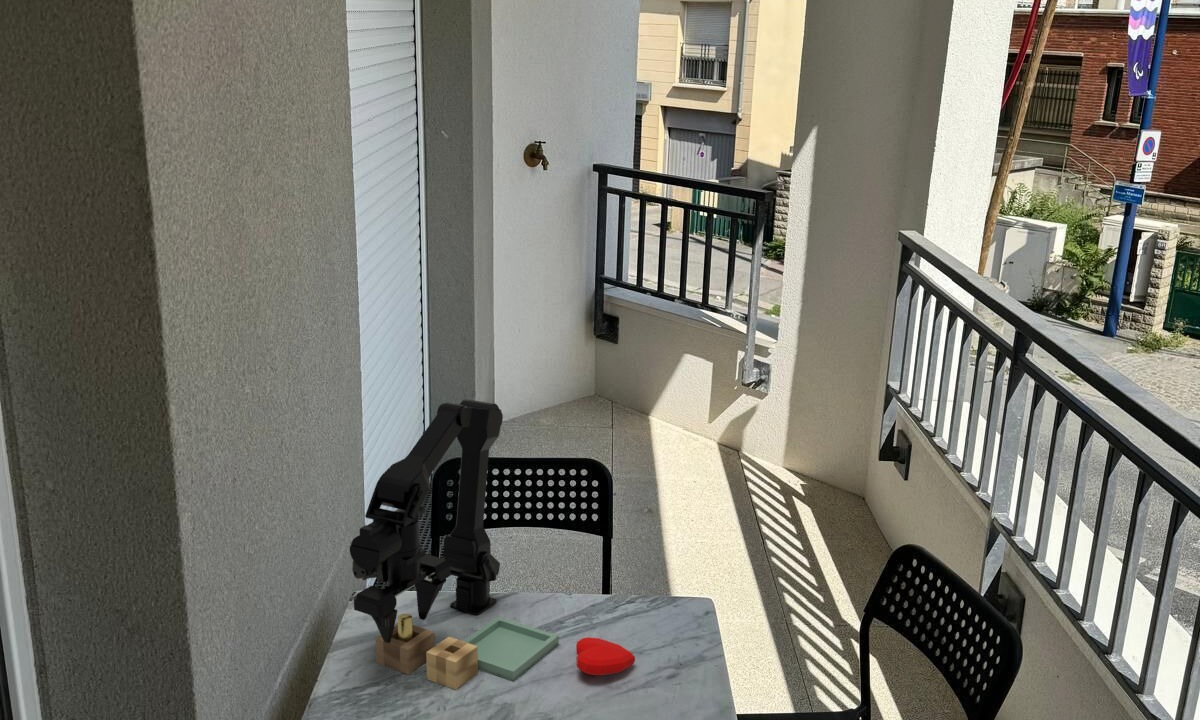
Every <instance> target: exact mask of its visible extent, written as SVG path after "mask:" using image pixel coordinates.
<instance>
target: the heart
mask: <svg viewBox="0 0 1200 720" xmlns="http://www.w3.org/2000/svg"><path fill="white" fill-rule="evenodd" d="M575 647H576V667H577V669H579V671H580V672H583V673H584V674H586V675H592V676H593V675H594V676H604V675H612V674H617V673H618V674H619V673H620V672H622V671H624V670H626V669H628V668H630V667H631V666H632V665H634V664H635V662H636V656H635V655H634V654H633V653H632V652H631V651H629V650H628V649H626V648H625V647H623V646H621V645H620V644H617V643H614V642H612V641H608V640H605V639H603V638H599V637H590V636H589V637H588V636H587V637H582V638H581V639H579V640H577V642H576V646H575Z"/></svg>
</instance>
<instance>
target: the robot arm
mask: <svg viewBox="0 0 1200 720" xmlns="http://www.w3.org/2000/svg"><path fill="white" fill-rule="evenodd" d="M503 417H504V416H503V412H502V409H500V408H499V406H498V404H497V403H492V402H487V401H481V400H473V399H468V398H465V399H463V400H462V401H460V403H452V402H447V401H446V402H444V403H443V402H442V403H441V404H440V405H439V406H438V408H437V411H436V415H435V416H434V417H433V420H432V421H431V422H430V424H429V425H428V426H427V428H426V429H425V430H424V432H423V433H422V435H421V436H420V438H419V439H418V441H416V443H415V445H414V446H413V447H412V449H411V450H410V452H409V453H408V454H407V456H406V457H404V458H402V459H401V460H399V461H396V462H395V463H392V464H391V465H390V466H389V467H388V468H387V469H386V470H385V472H383V474H381V475H380V476H379V479H378V480H377V482H376V483H375V487H374V490H373V492H372V495H371V498H370V500H369V504H368V506H367V510H366V513H365V517H364V518H366V519H369V520H372V522H371V523H369V524H365V525H363V526H362V527H360V528H359V534H358V535H357V536H355V537H354V538H353V539H352V540H351V543H350V545H349V554H350V556H351V557H350V558H351V559H352V566H351V567H352V570H351V571H352V573H353V576H354V578H355V579H357V580H358V579H362V581H367V579H375V578H376V580H377V582H379V583H382V584H384V583H386V585H387V586H386V587H384V588H380V587H377V586H374V585H370V586H368V587H366V588H364V589H363V590H361V591H360V592H358V593H357V594H355V595H354V596H353V610H354V611H356V612H360V613H363V614H366V615H368V616H371V618H372V619H373V621H374V622H375V625H376V627H377V629H378V632H379V633H380V635H381V636H382V638H383V640H384V642H386V643H390V641H391V638H392V635H393V630H394V626H396V619H397V617H398V616H397V615H398V609H396V607H397V597H398V596H400V595H402V594H403V593H404V592H406V591H408V590H409V589H411V588H413V587H415V591H416V602H417V613H418V618H419V619H420V620H422V621H425V620H426V619H427V617H428V614H429V613H430V612H431V608H432V607H433V604H434V603H435V600H436V598H437V596H438V595H439V593H440V591H441V589H442V587H443V585H444V584H445V583H447V578H449V577H451V576H454V577H456V578H455V582H456V583H455V584H456V587H455V600H454V601H452V602H451V603H450V604H449V605H450V606H449V607H450V608H453V609H456V610H459V611H463V612H465V613H469V614H471V615H474V616H477V615H480V614H481V613H483V612H484V611H486V610H487V609H489V608H490V607H491V606H493V605H494V604H496V603H497V599H496V598H494V597H491V582H493V581H496V580H497V576H499V574H500V573H499V572H500V566H501V562H499V560H497V559H496V557H494V555H492V553H491V540H490V538H489V535H488V534H487V531H486V529H485V527H484V518H485V507H486V506H485V505H486V491H487V483H488V482H487V480H488V470H489V469H488V468H489V454H490V449H492V448H491V447H492V446H493V445H494V444H495V442H496V441H497V439H498V438H499V437H500V432H501V426H502V424H503V419H504V418H503ZM456 439H457V442H458V444H459V445H460V447H461V459H460V471H459V483H458V484H459V486H458V496H457V497H458V500H457V509H456V512H457V513H456V523H455V527H454V528H453V529H452V531H451V532H450V534H449V535H446V536H444V539H443V551H442V555H441V556H442V558H440V557H438V556H434V555H430V554H428V553H426V549H423V548H421V541H420V539H421V538H420V534H421V533H420V516H421V515H423V514H425V513H426V512H427V510H426V508H425V507H423V503H424V502H425V500H426V497H427V495H428V493H429V491H430V488H431V487H430V486H431V484H430V482H431V481H430V477H431V475H432V474H433V472H434V470H435V469H436V467H437V466H438V464H439V463H440V461H441V460H442V458H443V457H444V455H445V454H446V452H447V451H449V449H450V447H451V445H453V442H454V441H455V440H456ZM382 506H383V507H388V508H393V509H395V510H390V509H385V508H381V507H382ZM489 593H490V594H489Z"/></svg>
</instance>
